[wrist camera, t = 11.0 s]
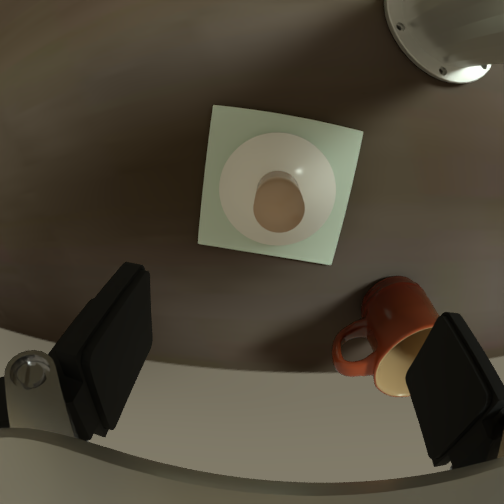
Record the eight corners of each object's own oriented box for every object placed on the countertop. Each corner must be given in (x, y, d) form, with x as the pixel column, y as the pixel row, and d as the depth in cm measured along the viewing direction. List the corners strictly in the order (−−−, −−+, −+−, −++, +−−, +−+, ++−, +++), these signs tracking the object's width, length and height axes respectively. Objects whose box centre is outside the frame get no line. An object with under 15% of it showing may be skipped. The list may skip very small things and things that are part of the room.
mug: (428, 260, 30) (473, 315, 21) (419, 324, 34) (451, 385, 24) (320, 275, 31) (336, 342, 22) (324, 340, 35) (335, 410, 26)
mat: (214, 104, 25) (213, 104, 25) (361, 131, 25) (363, 131, 25) (199, 241, 31) (197, 243, 30) (330, 262, 31) (331, 265, 30)
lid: (228, 124, 25) (216, 127, 20) (343, 143, 25) (362, 152, 20) (215, 232, 30) (202, 261, 24) (321, 248, 30) (331, 280, 24)
